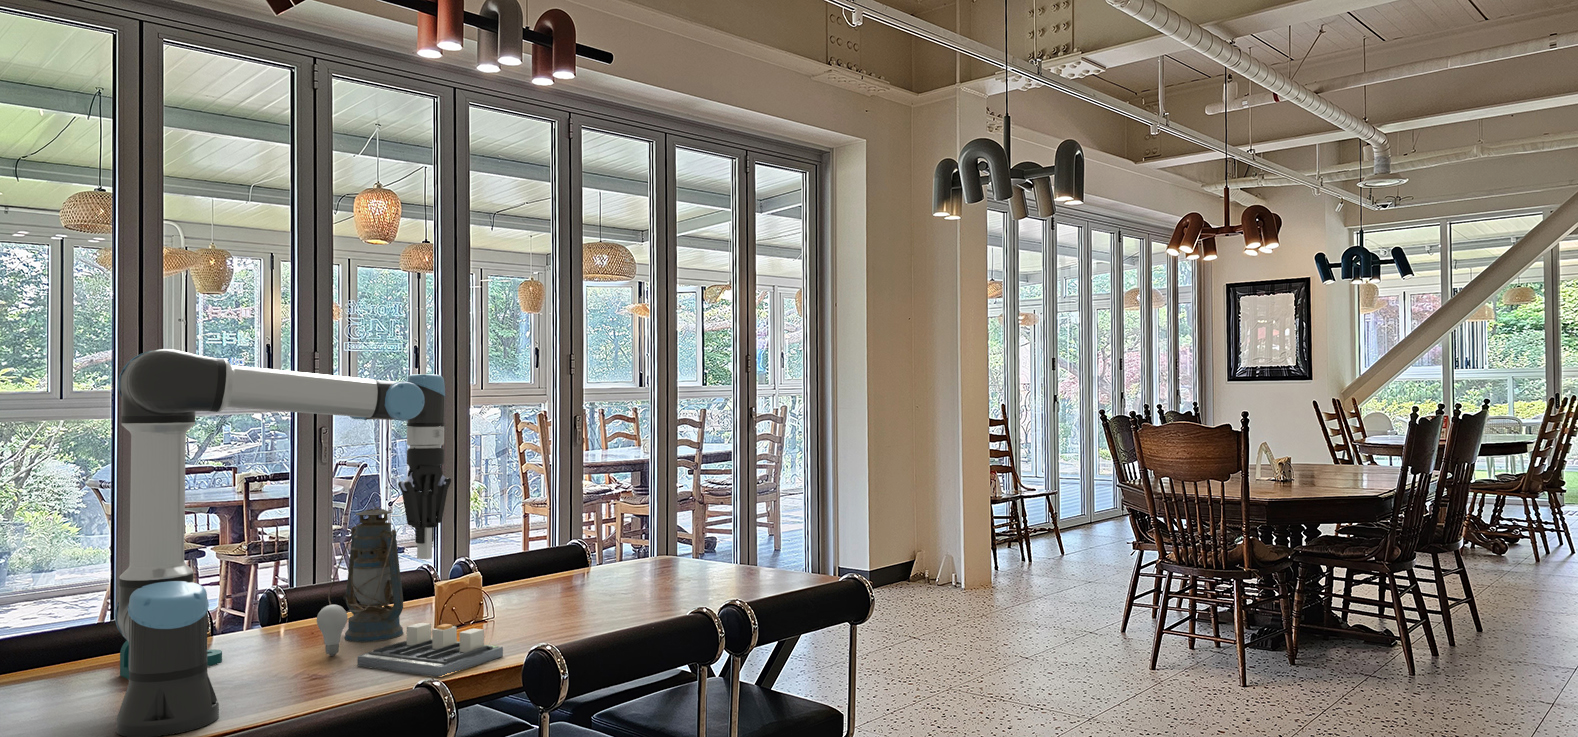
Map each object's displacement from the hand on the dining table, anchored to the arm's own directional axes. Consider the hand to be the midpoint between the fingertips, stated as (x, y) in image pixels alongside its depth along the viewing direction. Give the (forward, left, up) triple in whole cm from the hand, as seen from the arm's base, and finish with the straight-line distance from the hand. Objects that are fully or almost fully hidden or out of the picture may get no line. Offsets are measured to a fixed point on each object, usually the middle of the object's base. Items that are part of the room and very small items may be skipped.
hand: (424, 558), depth 220 cm
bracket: (-25, +44, -22) cm, 55 cm away
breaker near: (+4, -9, -19) cm, 22 cm away
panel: (0, -2, -22) cm, 22 cm away
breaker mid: (+4, -2, -19) cm, 20 cm away
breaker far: (+4, +6, -19) cm, 21 cm away
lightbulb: (-5, +22, -22) cm, 31 cm away
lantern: (+12, +29, -22) cm, 38 cm away
